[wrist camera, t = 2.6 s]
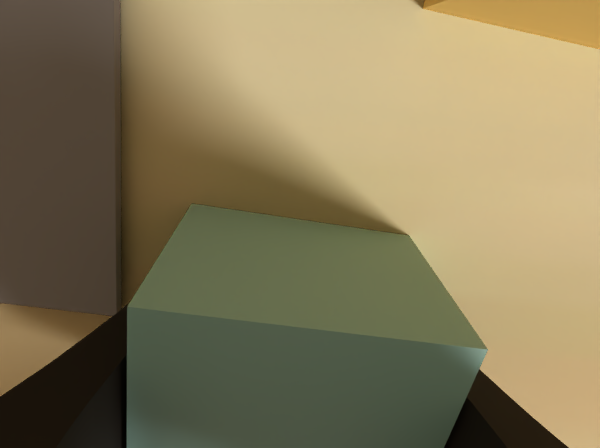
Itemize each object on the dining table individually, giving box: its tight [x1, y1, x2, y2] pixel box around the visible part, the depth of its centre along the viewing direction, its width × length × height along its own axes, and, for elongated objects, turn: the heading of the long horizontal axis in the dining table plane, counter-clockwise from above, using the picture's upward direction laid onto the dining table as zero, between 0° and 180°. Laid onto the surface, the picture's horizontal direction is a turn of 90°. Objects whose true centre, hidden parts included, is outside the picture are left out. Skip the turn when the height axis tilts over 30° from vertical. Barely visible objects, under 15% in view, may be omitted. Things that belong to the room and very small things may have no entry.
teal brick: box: [127, 204, 488, 448], centre depth 8 cm, size 5×5×4 cm
